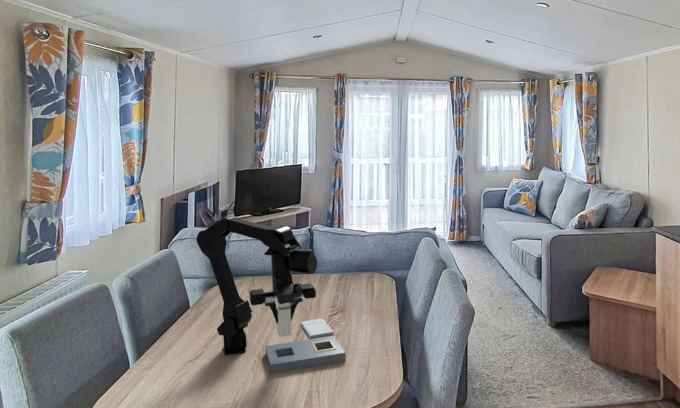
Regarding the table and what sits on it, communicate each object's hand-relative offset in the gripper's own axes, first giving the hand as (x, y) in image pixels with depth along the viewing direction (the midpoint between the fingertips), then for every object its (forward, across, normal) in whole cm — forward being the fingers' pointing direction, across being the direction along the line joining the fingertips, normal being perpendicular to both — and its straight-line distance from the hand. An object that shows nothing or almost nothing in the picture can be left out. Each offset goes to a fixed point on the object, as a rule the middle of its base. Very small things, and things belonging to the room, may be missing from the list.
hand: (283, 321), depth 125 cm
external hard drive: (+13, +14, +18) cm, 26 cm away
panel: (+12, +6, 0) cm, 13 cm away
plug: (+4, 0, 0) cm, 4 cm away
